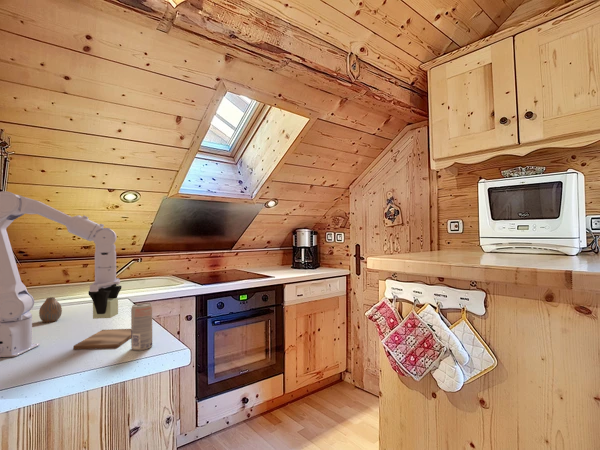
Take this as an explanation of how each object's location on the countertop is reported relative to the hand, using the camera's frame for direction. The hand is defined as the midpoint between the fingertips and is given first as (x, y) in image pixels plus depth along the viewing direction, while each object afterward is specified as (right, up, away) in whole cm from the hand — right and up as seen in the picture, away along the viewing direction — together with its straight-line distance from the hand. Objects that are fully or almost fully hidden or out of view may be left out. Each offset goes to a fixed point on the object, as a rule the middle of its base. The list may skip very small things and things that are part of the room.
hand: (105, 311), depth 103 cm
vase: (-35, -10, +24) cm, 43 cm away
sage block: (0, -1, 0) cm, 1 cm away
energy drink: (+15, -8, -9) cm, 19 cm away
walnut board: (+1, -8, -1) cm, 9 cm away
